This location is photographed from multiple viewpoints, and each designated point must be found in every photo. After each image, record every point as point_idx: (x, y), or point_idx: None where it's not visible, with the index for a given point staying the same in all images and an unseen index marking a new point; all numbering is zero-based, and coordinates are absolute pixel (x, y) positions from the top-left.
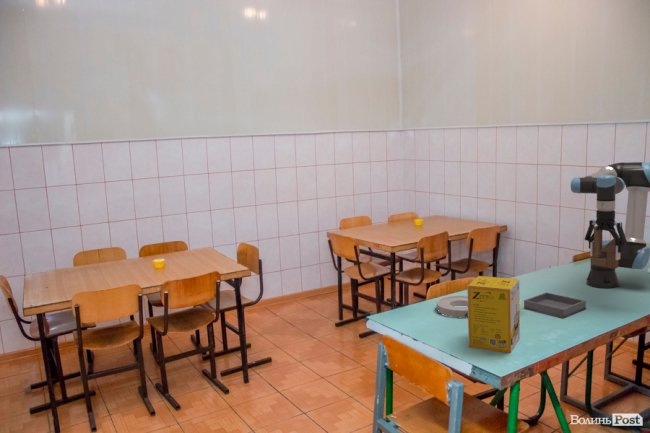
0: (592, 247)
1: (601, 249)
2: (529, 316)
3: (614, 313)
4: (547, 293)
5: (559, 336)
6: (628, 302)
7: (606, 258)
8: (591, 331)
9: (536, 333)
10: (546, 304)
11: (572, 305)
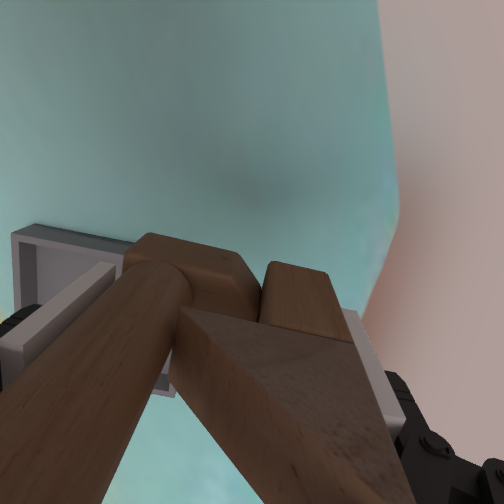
0: None
1: (186, 397)
2: None
3: (301, 250)
4: (22, 241)
5: (233, 493)
6: (314, 63)
7: (236, 302)
8: None
9: (179, 498)
10: None
11: None
